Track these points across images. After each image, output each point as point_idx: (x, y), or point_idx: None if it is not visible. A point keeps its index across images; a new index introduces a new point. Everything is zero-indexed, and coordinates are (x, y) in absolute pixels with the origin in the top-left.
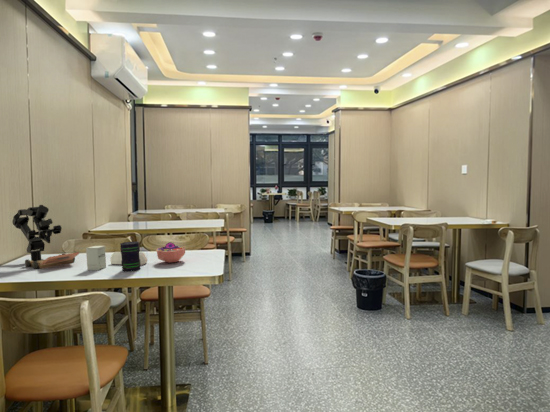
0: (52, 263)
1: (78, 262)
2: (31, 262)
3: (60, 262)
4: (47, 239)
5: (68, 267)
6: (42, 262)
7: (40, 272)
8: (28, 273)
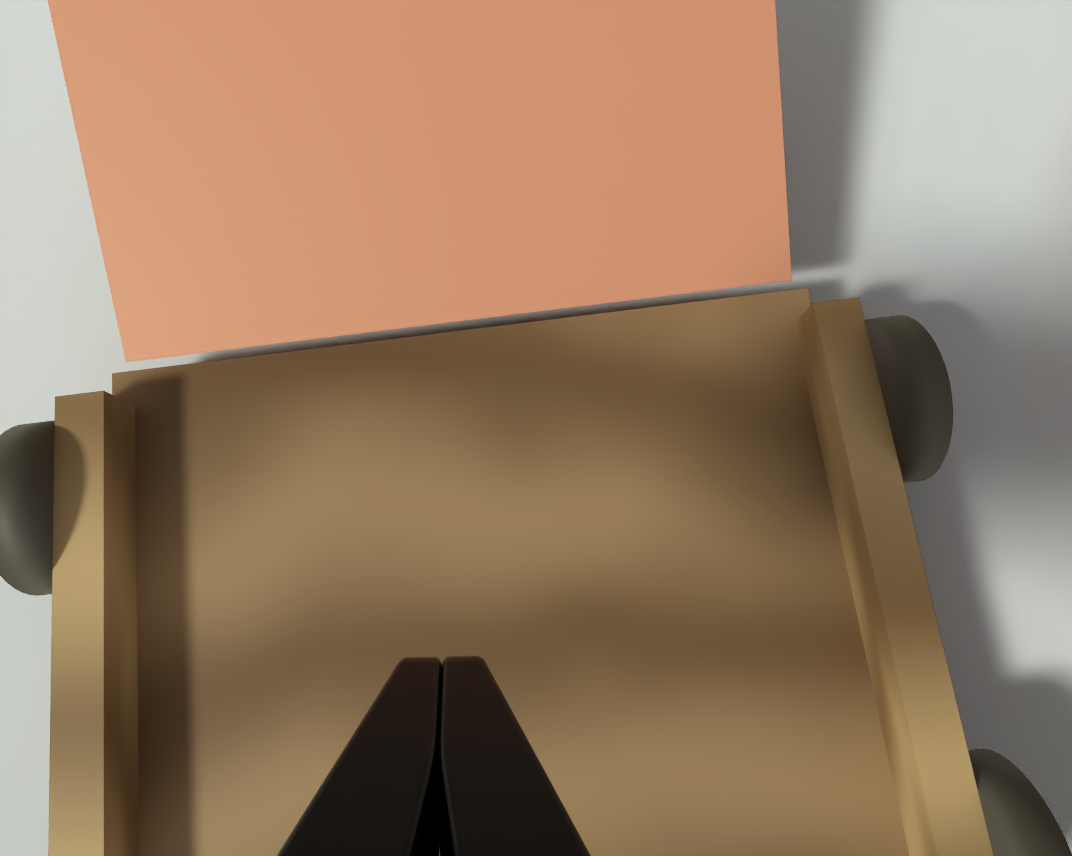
0: (562, 318)
1: (79, 331)
2: (936, 675)
3: (396, 343)
4: (510, 804)
5: None
6: (786, 228)
7: (849, 3)
8: (1016, 85)
